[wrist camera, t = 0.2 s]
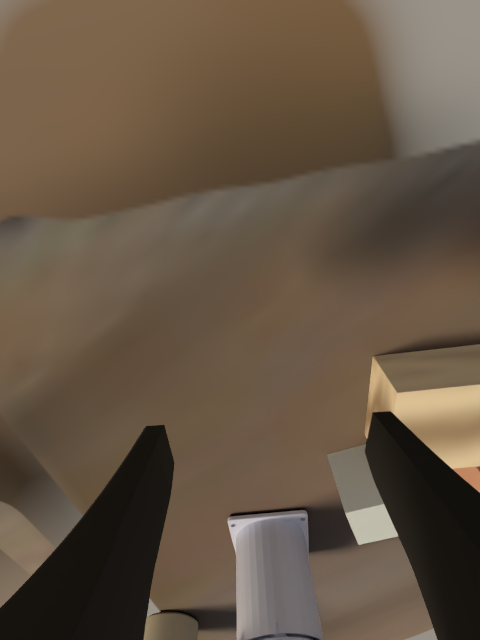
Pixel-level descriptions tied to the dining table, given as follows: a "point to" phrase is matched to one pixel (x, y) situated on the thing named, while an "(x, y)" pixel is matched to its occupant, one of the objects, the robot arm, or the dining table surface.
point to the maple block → (432, 399)
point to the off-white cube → (360, 496)
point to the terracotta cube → (470, 476)
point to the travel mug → (171, 626)
